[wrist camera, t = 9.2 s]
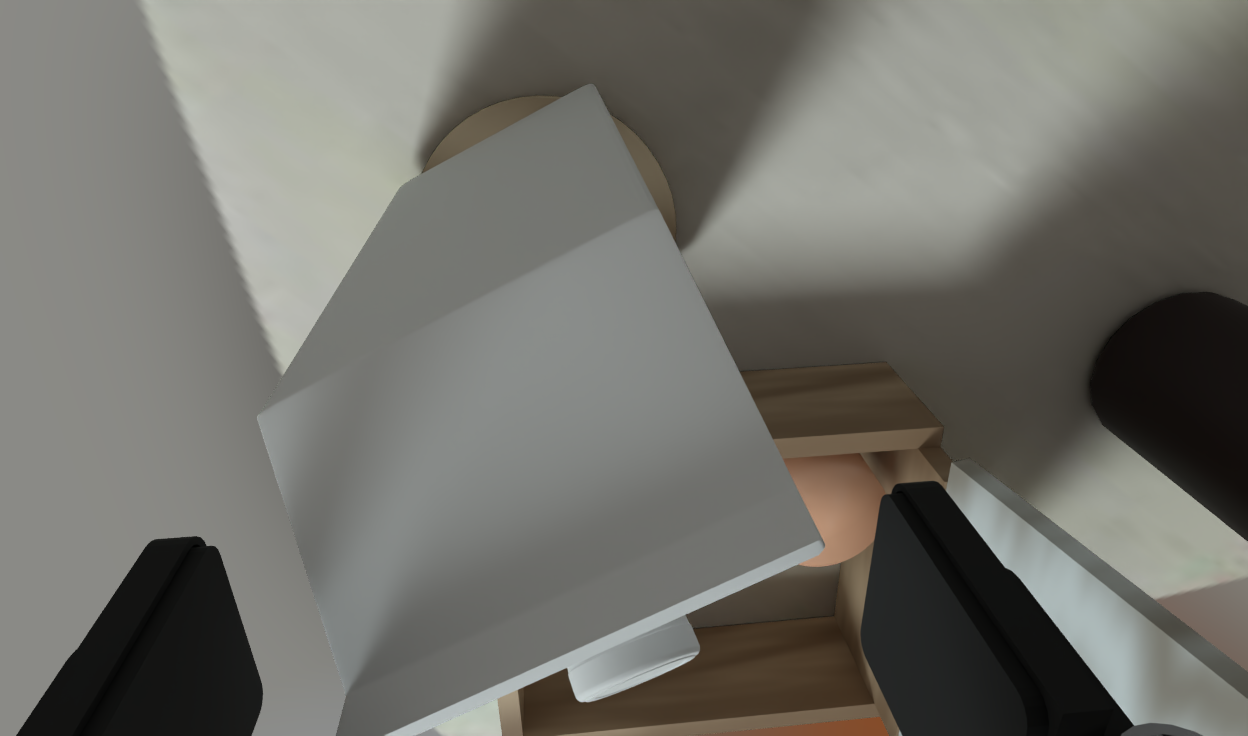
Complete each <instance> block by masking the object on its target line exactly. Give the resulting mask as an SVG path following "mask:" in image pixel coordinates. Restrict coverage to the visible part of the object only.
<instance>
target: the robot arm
mask: <svg viewBox="0 0 1248 736" xmlns="http://www.w3.org/2000/svg"><path fill="white" fill-rule="evenodd" d="M860 637H861V645H862V649H863V652H864V655H865V658H866V660H867V662H868V664H869V666H870V668H871V670H872V673H873V675H874V677H875V679H876V681H877V683H878V685H879V687H880V690H881V692H882V694H883V696H884V698H885V700H886V702H887V704H888V707H889V709H890V711H891V713H892V715H893V717H894V719H895V721H896V724H897V726H898V728H899V730H900V732H901V734H902V736H1203V735H1201V734H1199V733H1197V732H1195V731H1191V730H1188V729H1185V728H1181V727H1178V726H1175V725H1171V724H1160V723H1146V724H1141V725H1136V726H1134V725H1133V723H1132V722H1131V721H1130V719H1129V718H1128V717H1127V716H1126V714H1125V713H1124V712H1123V710H1122V709H1121V708H1120V707H1119V705H1118V704H1117V703H1116V701H1115V700H1114V699H1113V698H1112V696H1111V695H1110V694H1109V692H1108V691H1107V690H1106V689H1105V687H1104V686H1103V685H1102V683H1101V682H1100V681H1099V680H1098V678H1097V677H1096V676H1095V675H1094V673H1093V672H1092V671H1091V669H1090V668H1089V667H1088V666H1087V664H1086V663H1085V662H1084V660H1083V659H1082V658H1081V657H1080V655H1079V654H1078V653H1077V651H1076V650H1075V649H1074V648H1073V646H1072V645H1071V644H1070V642H1069V641H1068V640H1067V639H1066V637H1065V636H1064V635H1063V633H1062V632H1061V631H1060V630H1059V628H1058V627H1057V626H1056V624H1055V623H1054V622H1053V621H1052V619H1051V618H1050V617H1049V616H1048V614H1047V613H1046V612H1045V610H1044V609H1043V608H1042V607H1041V605H1040V604H1039V603H1038V601H1037V600H1036V599H1035V598H1034V596H1033V595H1032V594H1031V592H1030V591H1029V590H1028V589H1027V587H1026V586H1025V585H1024V583H1023V582H1022V581H1021V580H1020V578H1019V577H1018V576H1017V575H1016V574H1015V573H1014V572H1013V571H1011V570H1009V569H1007V568H1005V567H1004V566H1003V564H1002V563H1001V562H1000V560H999V559H998V558H997V556H996V555H995V554H994V553H993V551H992V550H991V549H990V547H989V546H988V545H987V543H986V542H985V541H984V540H983V538H982V537H981V536H980V534H979V533H978V532H977V530H976V529H975V528H974V527H973V525H972V524H971V523H970V521H969V520H968V519H967V517H966V516H965V515H964V514H963V512H962V511H961V510H960V508H959V507H958V506H957V504H956V503H955V502H954V501H953V499H952V498H951V497H950V495H949V494H948V493H947V492H946V490H945V489H944V488H943V486H942V485H941V484H940V483H939V482H936V481H923V482H910V483H898V484H896V485H895V486H894V487H893V489H892V492H891V494H885V495H883V497H882V498H881V502H880V507H879V513H878V520H877V526H876V533H875V539H874V546H873V552H872V558H871V565H870V571H869V578H868V584H867V591H866V597H865V603H864V610H863V616H862V623H861V631H860ZM262 699H263V689H262V683H261V680H260V676H259V673H258V670H257V667H256V664H255V661H254V658H253V655H252V652H251V648H250V645H249V643H248V639H247V636H246V633H245V630H244V627H243V624H242V621H241V617H240V615H239V611H238V608H237V605H236V602H235V599H234V596H233V592H232V590H231V586H230V583H229V580H228V577H227V574H226V571H225V568H224V565H223V561H222V558H221V555H220V553H219V551H218V549H217V548H216V547H215V546H206V544H205V542H204V540H203V539H202V538H201V537H197V536H194V537H181V538H168V539H156V540H153V541H151V542H150V543H149V544H148V545H147V546H146V547H145V549H144V550H143V552H142V553H141V555H140V556H139V558H138V559H137V561H136V562H135V564H134V565H133V567H132V568H131V570H130V571H129V573H128V574H127V576H126V577H125V579H124V580H123V582H122V583H121V585H120V586H119V588H118V589H117V591H116V592H115V594H114V595H113V597H112V598H111V600H110V601H109V603H108V604H107V606H106V607H105V608H104V610H103V611H102V613H101V614H100V616H99V617H98V619H97V620H96V622H95V623H94V625H93V627H92V628H91V629H90V631H89V632H88V634H87V636H86V637H85V638H84V640H83V641H82V643H81V644H80V646H79V648H78V649H77V650H76V651H75V652H74V653H73V654H72V655H71V656H70V657H69V658H68V660H67V661H66V662H65V664H64V666H63V667H62V668H61V670H60V671H59V673H58V674H57V676H56V677H55V679H54V681H53V682H52V683H51V685H50V686H49V688H48V689H47V691H46V692H45V694H44V695H43V697H42V698H41V700H40V701H39V703H38V704H37V706H36V707H35V708H34V710H33V711H32V713H31V715H30V716H29V717H28V719H27V720H26V722H25V723H24V725H23V726H22V728H21V729H20V731H19V732H18V734H17V735H16V736H251V735H252V733H253V730H254V727H255V725H256V722H257V719H258V716H259V713H260V710H261V706H262Z"/></svg>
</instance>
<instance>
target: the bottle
mask: <svg viewBox="0 0 1248 736" xmlns="http://www.w3.org/2000/svg"><path fill="white" fill-rule="evenodd" d="M1090 387H1091V402H1092V406H1093V408H1094V410H1095V412H1096V414H1097V416H1098V417H1099V419H1100V421H1101V423H1102V425H1103V426H1104V427H1106V428H1107V429H1108V430H1109V431H1111V432H1112V433H1113V434H1114V435H1116V436H1117V437H1118V438H1119V439H1121V440H1122V441H1123V442H1124V443H1126V444H1127V445H1128V446H1129V447H1131V448H1132V449H1133V450H1134V451H1136V452H1137V453H1138V454H1139V455H1141V456H1142V457H1143V458H1144V459H1146V460H1147V461H1148V462H1149V463H1151V464H1152V465H1153V466H1154V467H1156V468H1157V469H1158V470H1159V471H1161V472H1162V473H1163V474H1164V475H1165V476H1167V477H1168V478H1169V479H1170V480H1172V481H1173V482H1174V483H1175V484H1177V485H1178V486H1179V487H1180V488H1182V489H1183V490H1184V491H1185V492H1187V493H1188V494H1189V495H1190V496H1192V497H1193V498H1194V499H1195V500H1197V501H1198V502H1199V503H1200V504H1202V505H1203V506H1204V507H1205V508H1207V509H1208V510H1209V511H1210V512H1212V513H1213V514H1214V515H1215V516H1217V517H1218V518H1219V519H1220V520H1222V521H1223V522H1224V523H1225V524H1226V525H1228V526H1229V527H1230V528H1231V529H1233V530H1234V531H1235V532H1236V533H1238V534H1239V535H1240V536H1241V537H1243V538H1244V539H1245V540H1246V541H1248V306H1246V305H1244V304H1242V303H1240V302H1238V301H1236V300H1234V299H1230V298H1227V297H1224V296H1221V295H1218V294H1214V293H1209V292H1200V293H1182V294H1179V295H1176V296H1173V297H1170V298H1167V299H1164V300H1161V301H1158V302H1155V303H1154V304H1152V305H1151V306H1149V307H1147V308H1146V309H1144V310H1143V311H1141V312H1139V313H1138V314H1136V315H1135V316H1133V317H1132V318H1130V319H1129V320H1128V321H1127V322H1126V323H1125V324H1124V325H1123V326H1122V327H1121V328H1120V329H1119V330H1118V331H1117V332H1116V333H1115V334H1114V335H1113V336H1112V337H1111V339H1110V340H1109V342H1108V343H1107V345H1106V347H1105V348H1104V350H1103V352H1102V353H1101V355H1100V357H1099V358H1098V360H1097V362H1096V365H1095V369H1094V373H1093V376H1092V380H1091V383H1090Z"/></svg>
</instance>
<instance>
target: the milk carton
mask: <svg viewBox="0 0 1248 736" xmlns="http://www.w3.org/2000/svg"><path fill="white" fill-rule="evenodd" d="M257 419H258V423H259V426H260V429H261V432H262V436H263V438H264V442H265V445H266V448H267V451H268V454H269V457H270V461H271V464H272V467H273V470H274V473H275V476H276V479H277V482H278V485H279V489H280V492H281V495H282V498H283V501H284V504H285V507H286V510H287V514H288V517H289V520H290V523H291V526H292V529H293V532H294V535H295V538H296V541H297V545H298V548H299V551H300V554H301V557H302V560H303V564H304V567H305V570H306V573H307V576H308V579H309V582H310V585H311V588H312V592H313V594H314V598H315V601H316V604H317V607H318V610H319V613H320V617H321V619H322V622H323V626H324V629H325V632H326V635H327V638H328V642H329V645H330V648H331V651H332V654H333V657H334V660H335V663H336V666H337V669H338V672H339V675H340V679H341V682H342V685H343V688H344V691H345V695H346V699H345V703H344V707H343V710H342V715H341V718H340V722H339V726H338V730H337V733H336V736H415V735H417V734H420V733H422V732H424V731H426V730H429V729H431V728H433V727H435V726H438V725H440V724H442V723H444V722H447V721H449V720H451V719H453V718H455V717H458V716H460V715H462V714H464V713H467V712H469V711H471V710H473V709H476V708H478V707H480V706H482V705H485V704H487V703H489V702H491V701H494V700H496V699H498V698H500V697H502V696H505V695H507V694H509V693H511V692H514V691H516V690H518V689H520V688H523V687H525V686H527V685H529V684H532V683H534V682H536V681H538V680H540V679H543V678H545V677H547V676H549V675H552V674H554V673H556V672H558V671H561V670H563V669H565V668H567V669H568V673H569V674H568V676H569V679H570V683H571V686H572V689H573V692H574V695H575V697H576V699H577V700H578V701H580V702H592V701H596V700H599V699H602V698H605V697H608V696H611V695H613V694H616V693H619V692H621V691H624V690H626V689H629V688H631V687H634V686H636V685H638V684H641V683H643V682H646V681H648V680H650V679H652V678H655V677H657V676H659V675H662V674H664V673H666V672H668V671H670V670H672V669H675V668H677V667H679V666H681V665H683V664H685V663H687V662H689V661H690V660H692V659H693V658H695V656H696V655H697V654H698V653H699V651H700V645H699V643H698V640H697V638H696V635H695V633H694V631H693V628H692V626H691V624H690V623H689V622H688V619H687V617H686V614H688V613H690V612H693V611H695V610H697V609H699V608H702V607H704V606H706V605H708V604H711V603H713V602H715V601H717V600H719V599H722V598H724V597H726V596H728V595H731V594H733V593H735V592H737V591H740V590H742V589H744V588H746V587H749V586H751V585H753V584H755V583H758V582H760V581H762V580H764V579H766V578H769V577H771V576H773V575H775V574H778V573H780V572H782V571H784V570H787V569H789V568H791V567H793V566H796V565H798V564H800V563H802V562H805V561H807V560H809V559H811V558H813V557H816V556H818V555H819V554H820V553H821V552H822V551H823V550H824V548H825V543H824V541H823V539H822V537H821V535H820V533H819V531H818V529H817V527H816V525H815V523H814V521H813V519H812V517H811V515H810V513H809V511H808V509H807V507H806V505H805V503H804V501H803V499H802V497H801V495H800V493H799V491H798V489H797V487H796V485H795V483H794V481H793V479H792V477H791V475H790V473H789V471H788V469H787V467H786V465H785V463H784V461H783V459H782V457H781V455H780V453H779V451H778V449H777V447H776V445H775V443H774V441H773V439H772V437H771V435H770V433H769V431H768V429H767V426H766V424H765V422H764V420H763V418H762V416H761V414H760V412H759V410H758V408H757V406H756V404H755V402H754V400H753V398H752V396H751V394H750V392H749V390H748V388H747V386H746V384H745V382H744V380H743V378H742V376H741V374H740V372H739V370H738V368H737V366H736V364H735V362H734V360H733V358H732V356H731V354H730V352H729V350H728V348H727V346H726V344H725V342H724V340H723V338H722V336H721V334H720V332H719V330H718V328H717V326H716V324H715V322H714V320H713V317H712V315H711V313H710V311H709V309H708V307H707V305H706V303H705V301H704V299H703V297H702V295H701V293H700V291H699V289H698V287H697V285H696V283H695V281H694V279H693V277H692V275H691V273H690V271H689V269H688V267H687V265H686V263H685V261H684V259H683V257H682V255H681V253H680V251H679V249H678V247H677V245H676V243H675V241H674V239H673V237H672V235H671V233H670V231H669V229H668V227H667V225H666V223H665V221H664V219H663V217H662V215H661V213H660V211H659V209H658V207H657V205H656V203H655V201H654V199H653V197H652V195H651V193H650V191H649V189H648V187H647V185H646V184H645V182H644V180H643V178H642V176H641V174H640V172H639V170H638V168H637V166H636V164H635V162H634V160H633V158H632V156H631V154H630V152H629V150H628V149H627V147H626V145H625V143H624V141H623V139H622V137H621V135H620V133H619V131H618V129H617V127H616V125H615V123H614V121H613V119H612V117H611V115H610V114H609V112H608V110H607V108H606V106H605V104H604V102H603V100H602V98H601V96H600V94H599V92H598V90H597V88H596V87H595V85H594V84H591V83H590V84H587V85H585V86H582V87H580V88H578V89H577V90H575V91H573V92H571V93H569V94H567V95H565V96H563V97H562V98H560V99H558V100H556V101H554V102H552V103H551V104H549V105H547V106H545V107H543V108H541V109H540V110H538V111H536V112H534V113H532V114H530V115H529V116H527V117H525V118H523V119H521V120H519V121H518V122H516V123H514V124H512V125H510V126H508V127H507V128H505V129H503V130H501V131H499V132H497V133H496V134H494V135H492V136H490V137H488V138H486V139H485V140H483V141H481V142H479V143H477V144H475V145H474V146H472V147H470V148H468V149H466V150H464V151H463V152H461V153H459V154H457V155H455V156H453V157H452V158H450V159H448V160H446V161H444V162H442V163H441V164H439V165H437V166H435V167H433V168H431V169H430V170H428V171H426V172H424V173H422V174H420V175H419V176H417V177H415V178H413V179H412V180H410V181H408V182H407V183H405V184H404V185H402V186H401V187H400V188H399V190H398V191H397V193H396V195H395V196H394V198H393V199H392V201H391V203H390V204H389V206H388V207H387V209H386V211H385V212H384V214H383V216H382V217H381V219H380V220H379V222H378V224H377V225H376V227H375V228H374V230H373V232H372V233H371V235H370V236H369V238H368V240H367V241H366V243H365V245H364V246H363V248H362V249H361V251H360V253H359V254H358V256H357V257H356V259H355V261H354V262H353V264H352V266H351V267H350V269H349V270H348V272H347V274H346V275H345V277H344V278H343V280H342V282H341V283H340V285H339V286H338V288H337V290H336V291H335V293H334V295H333V296H332V298H331V299H330V301H329V303H328V304H327V306H326V307H325V309H324V311H323V312H322V314H321V316H320V317H319V319H318V320H317V322H316V324H315V325H314V327H313V328H312V330H311V332H310V333H309V335H308V336H307V338H306V340H305V341H304V343H303V345H302V346H301V348H300V349H299V351H298V353H297V354H296V356H295V357H294V359H293V361H292V362H291V364H290V365H289V367H288V369H287V370H286V372H285V374H284V375H283V377H282V378H281V380H280V382H279V384H278V385H277V387H276V388H275V390H274V391H273V393H272V395H271V396H270V398H269V399H268V401H267V403H266V404H265V406H264V408H263V409H262V410H261V412H260V413H259V415H258V416H257Z"/></svg>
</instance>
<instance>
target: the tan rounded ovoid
mask: <svg viewBox="0 0 1248 736" xmlns="http://www.w3.org/2000/svg"><path fill="white" fill-rule="evenodd" d="M783 461H784V463H785V465H786V467H787V469H788V471H789V473H790V475H791V477H792V479H793V481H794V483H795V485H796V487H797V489H798V491H799V493H800V495H801V497H802V499H803V501H804V503H805V505H806V507H807V509H808V511H809V513H810V515H811V517H812V519H813V521H814V523H815V525H816V527H817V529H818V531H819V533H820V535H821V537H822V539H823V541H824V543H825V548H824V550H823V551H822V552H821V553H820V554H819V555H818V556H816V557H813V558H811V559H809V560H807V561H805V562H802V563H800V564H799V565H803V566H811V567H822V566H829V565H834V564H838V563H840V562H843V561H846V560H848V559H850V558H852V557H854V556H856V555H857V554H859V553H860V552H862V551H863V550H865V549H866V548H867V547H868V546H869V545H870V544H871V543H872V542H873V541H874V539H875V533H876V526H877V520H878V513H879V507H880V502H881V498H882V497H883V495H885V494H886V493H885V491H884V489H883V487H882V486H881V484H880V483H879V481H878V480H877V478H876V477H875V475H874V474H873V472H872V471H871V469H870V468H869V466H868V465H867V463H866V462H865V460H864V459H863V457H862V456H861V454H860V453H852V454H839V455H825V456H812V457H798V458H785V459H783Z"/></svg>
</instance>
